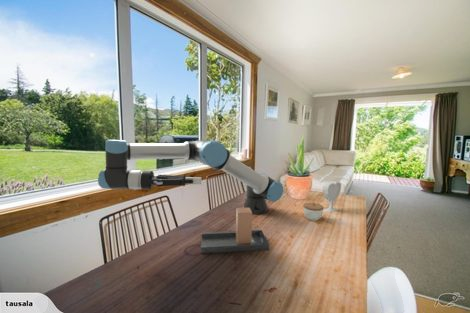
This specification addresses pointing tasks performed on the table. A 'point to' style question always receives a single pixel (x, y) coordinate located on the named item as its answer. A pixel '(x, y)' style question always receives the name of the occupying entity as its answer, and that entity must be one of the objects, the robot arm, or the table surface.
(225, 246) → the grey tray
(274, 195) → the robot arm
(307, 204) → the lidded jar
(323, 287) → the table surface
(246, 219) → the terracotta block
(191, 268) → the table surface
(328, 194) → the heart sculpture
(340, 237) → the table surface
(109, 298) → the table surface
